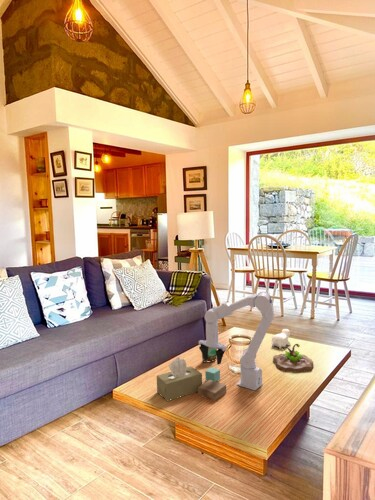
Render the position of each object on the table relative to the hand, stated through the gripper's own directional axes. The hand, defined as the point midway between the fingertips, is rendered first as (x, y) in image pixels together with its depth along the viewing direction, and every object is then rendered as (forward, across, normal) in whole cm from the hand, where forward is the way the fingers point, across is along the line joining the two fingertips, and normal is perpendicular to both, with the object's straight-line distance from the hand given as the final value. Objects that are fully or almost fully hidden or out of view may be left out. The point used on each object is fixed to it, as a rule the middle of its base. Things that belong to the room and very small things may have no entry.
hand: (212, 362), depth 172 cm
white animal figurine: (+9, -8, -63) cm, 64 cm away
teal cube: (+9, 0, 0) cm, 9 cm away
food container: (+9, +14, -20) cm, 26 cm away
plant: (+10, -24, -40) cm, 48 cm away
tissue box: (+9, +6, +18) cm, 21 cm away
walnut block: (+9, -7, +11) cm, 16 cm away
